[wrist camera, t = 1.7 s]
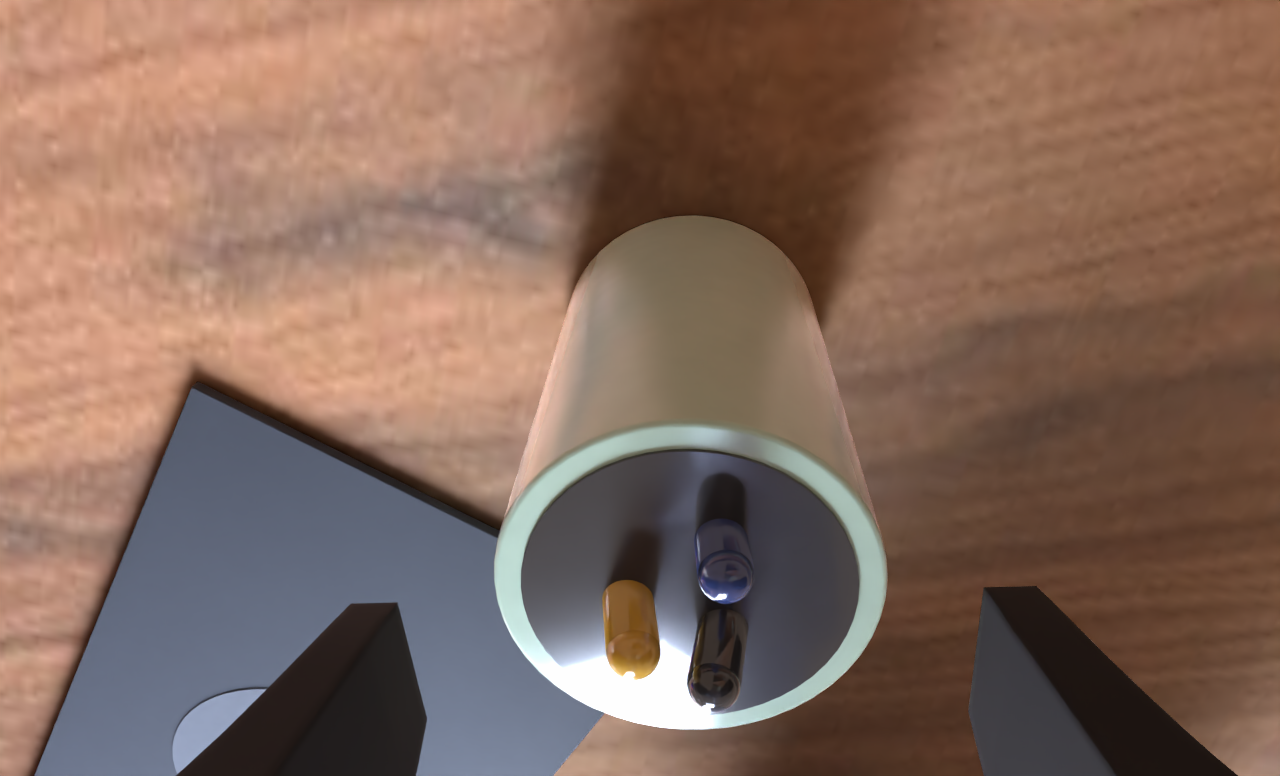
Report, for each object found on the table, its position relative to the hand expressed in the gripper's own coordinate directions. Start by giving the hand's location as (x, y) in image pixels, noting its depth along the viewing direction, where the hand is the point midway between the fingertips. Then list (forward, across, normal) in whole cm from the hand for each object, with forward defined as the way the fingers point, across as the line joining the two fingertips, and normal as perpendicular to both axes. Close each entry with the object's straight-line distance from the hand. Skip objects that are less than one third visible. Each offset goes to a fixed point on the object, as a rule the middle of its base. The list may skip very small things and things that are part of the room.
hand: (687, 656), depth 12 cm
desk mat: (+10, +12, +13) cm, 21 cm away
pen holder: (+10, 0, 0) cm, 10 cm away
